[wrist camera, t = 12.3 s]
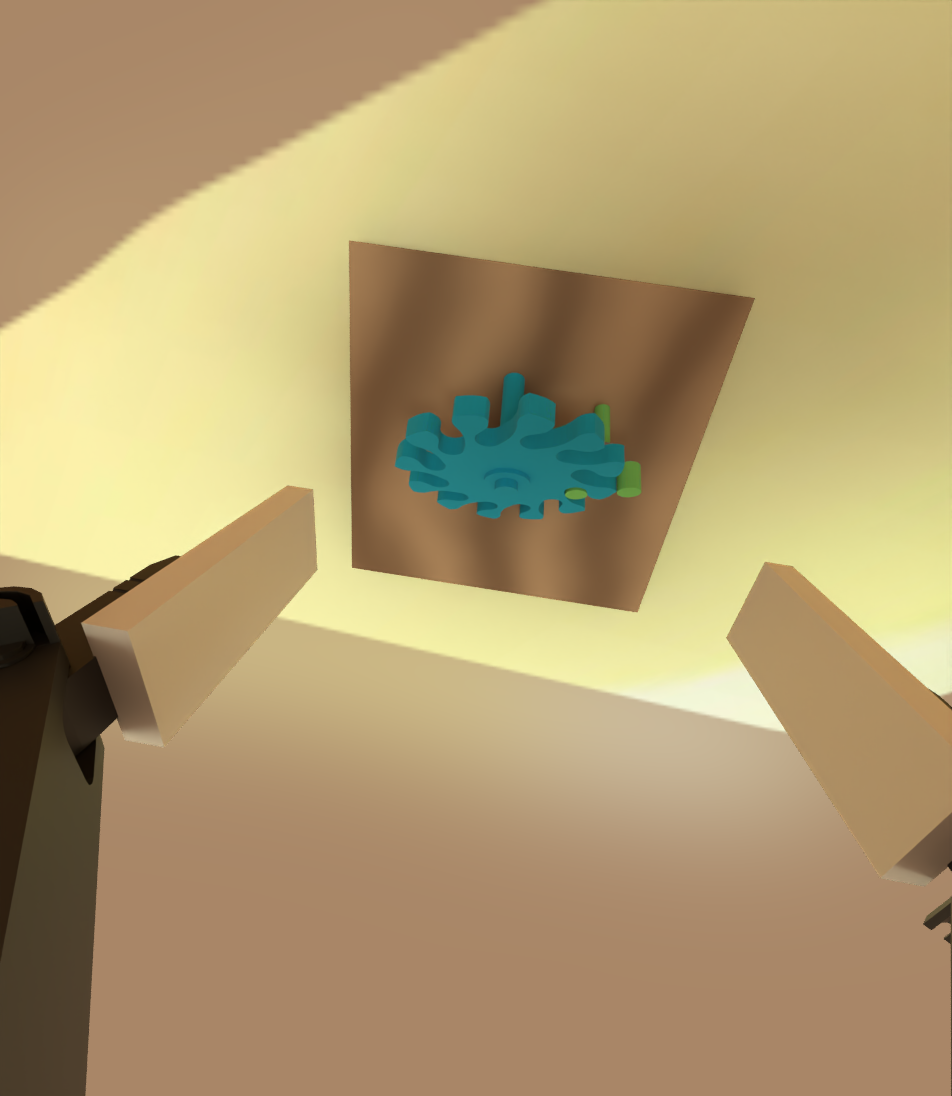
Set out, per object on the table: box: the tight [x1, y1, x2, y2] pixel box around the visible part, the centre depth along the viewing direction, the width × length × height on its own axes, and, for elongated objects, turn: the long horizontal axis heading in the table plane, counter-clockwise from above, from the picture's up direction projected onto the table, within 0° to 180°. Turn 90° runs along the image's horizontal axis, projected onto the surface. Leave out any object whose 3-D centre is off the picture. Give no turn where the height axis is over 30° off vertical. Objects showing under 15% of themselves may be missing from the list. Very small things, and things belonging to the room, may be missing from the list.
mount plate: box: [349, 241, 755, 612], centre depth 24 cm, size 18×17×2 cm
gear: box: [395, 373, 641, 519], centre depth 20 cm, size 11×6×10 cm
